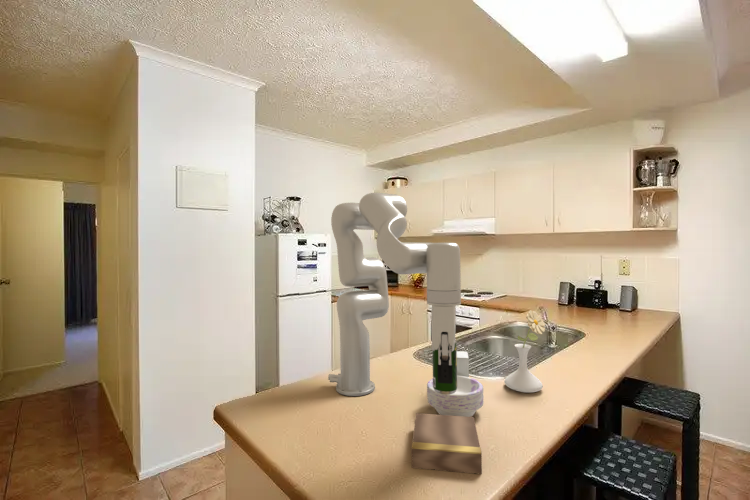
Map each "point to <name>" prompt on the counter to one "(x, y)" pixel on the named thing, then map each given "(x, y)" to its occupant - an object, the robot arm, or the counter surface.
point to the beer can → (438, 387)
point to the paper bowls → (457, 398)
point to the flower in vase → (522, 376)
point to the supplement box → (462, 364)
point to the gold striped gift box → (446, 443)
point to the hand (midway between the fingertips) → (444, 377)
